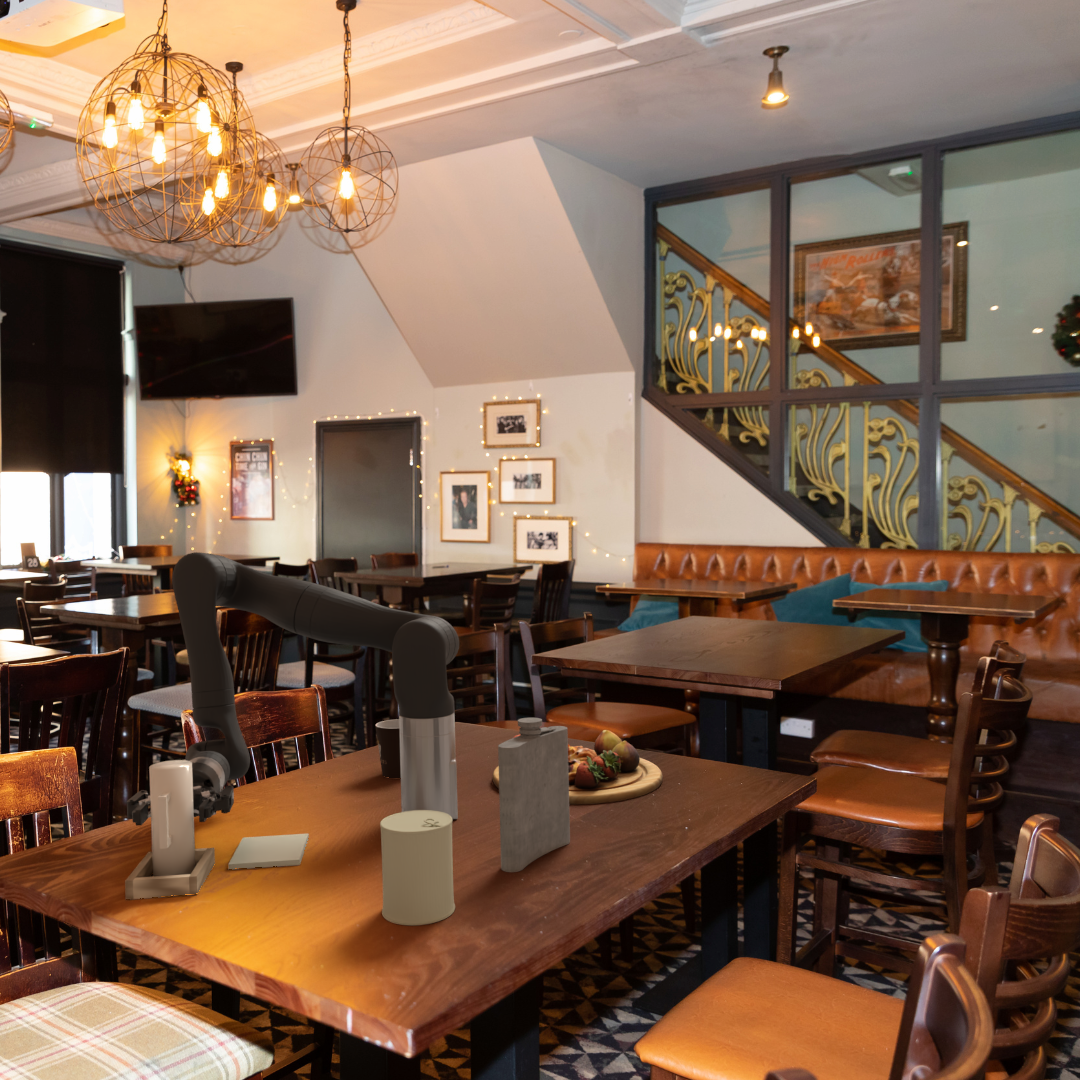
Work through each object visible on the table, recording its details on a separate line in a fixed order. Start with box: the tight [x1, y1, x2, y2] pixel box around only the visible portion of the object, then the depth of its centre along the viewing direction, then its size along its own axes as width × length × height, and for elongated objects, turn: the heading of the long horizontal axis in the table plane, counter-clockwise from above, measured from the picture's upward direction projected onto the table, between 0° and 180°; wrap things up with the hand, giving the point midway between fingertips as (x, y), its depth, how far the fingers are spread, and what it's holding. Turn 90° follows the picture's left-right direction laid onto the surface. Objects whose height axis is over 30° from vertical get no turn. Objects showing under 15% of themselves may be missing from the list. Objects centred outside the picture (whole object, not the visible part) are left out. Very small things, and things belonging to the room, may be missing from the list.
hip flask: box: [497, 717, 571, 873], centre depth 144 cm, size 16×4×20 cm, turn 147°
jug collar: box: [124, 847, 216, 900], centre depth 136 cm, size 9×12×2 cm
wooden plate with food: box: [492, 729, 664, 805], centre depth 184 cm, size 32×32×8 cm
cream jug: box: [148, 759, 196, 877], centre depth 136 cm, size 6×8×16 cm
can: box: [379, 810, 456, 926], centre depth 124 cm, size 9×9×12 cm
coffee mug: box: [375, 718, 401, 779], centre depth 193 cm, size 12×9×10 cm
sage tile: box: [227, 833, 310, 870], centre depth 147 cm, size 10×12×1 cm
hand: (169, 816), depth 136 cm, fingers open, 8 cm apart
